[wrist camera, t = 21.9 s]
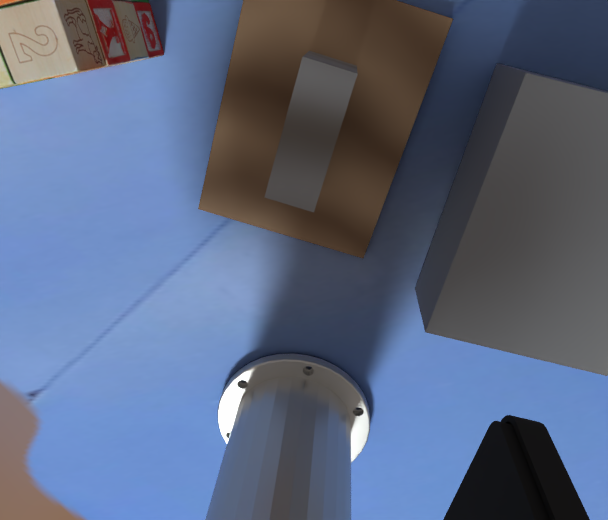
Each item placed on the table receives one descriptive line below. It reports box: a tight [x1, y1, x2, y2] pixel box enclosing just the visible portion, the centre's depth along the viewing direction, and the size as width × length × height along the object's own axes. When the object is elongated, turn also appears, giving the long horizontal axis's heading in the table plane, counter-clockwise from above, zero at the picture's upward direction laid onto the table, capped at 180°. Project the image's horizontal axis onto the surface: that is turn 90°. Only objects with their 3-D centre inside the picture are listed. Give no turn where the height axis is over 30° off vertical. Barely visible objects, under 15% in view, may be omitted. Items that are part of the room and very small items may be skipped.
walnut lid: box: [198, 0, 453, 258], centre depth 32 cm, size 16×12×6 cm
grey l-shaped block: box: [415, 63, 608, 376], centre depth 33 cm, size 16×19×6 cm
